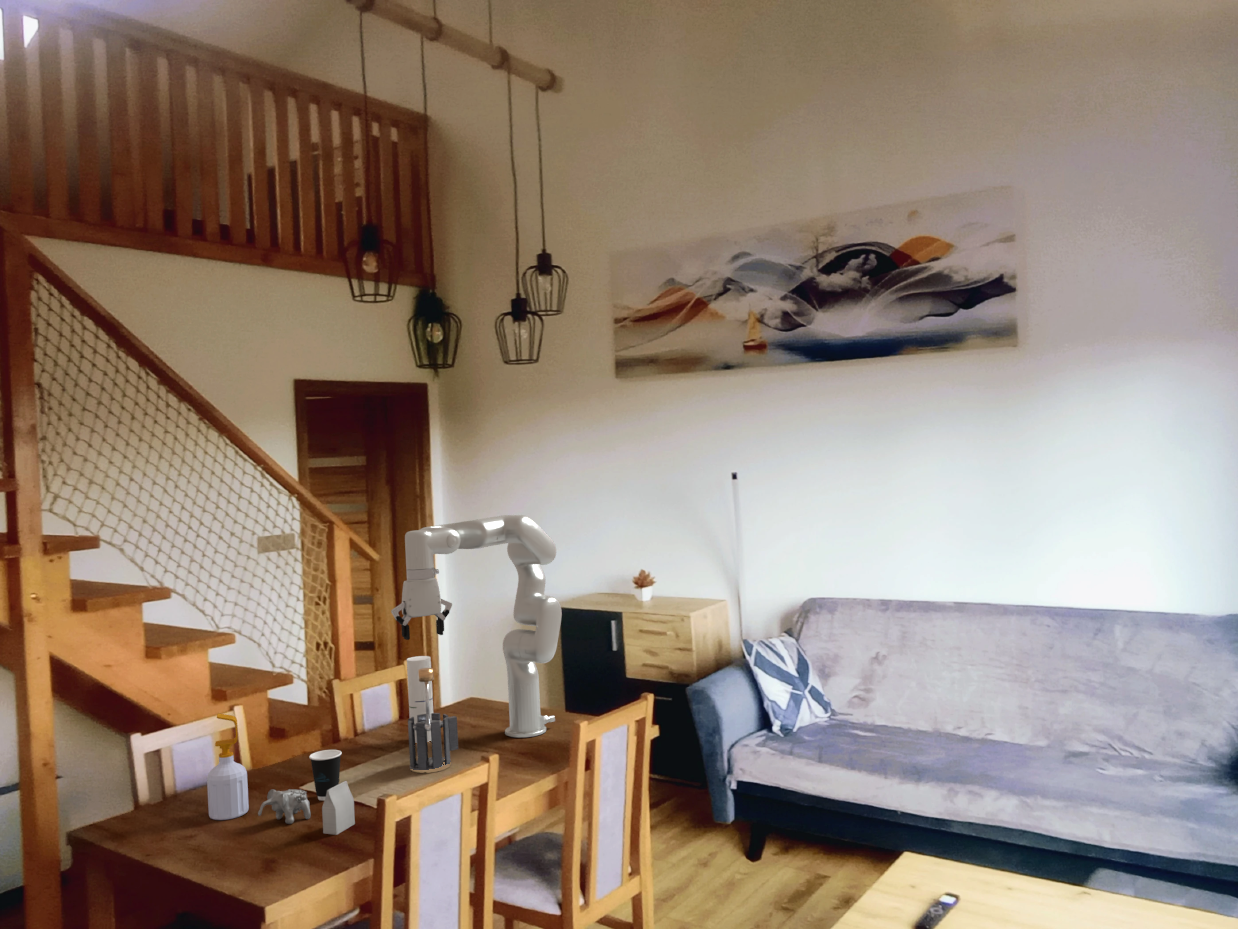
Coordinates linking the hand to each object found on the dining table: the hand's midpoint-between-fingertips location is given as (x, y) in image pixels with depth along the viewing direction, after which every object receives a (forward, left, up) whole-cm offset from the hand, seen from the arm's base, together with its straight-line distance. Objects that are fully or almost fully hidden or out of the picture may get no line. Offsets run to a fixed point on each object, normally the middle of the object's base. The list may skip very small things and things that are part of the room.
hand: (423, 636), depth 268 cm
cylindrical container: (-8, -27, -36) cm, 46 cm away
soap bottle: (+53, +2, -36) cm, 64 cm away
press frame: (-1, 0, -36) cm, 36 cm away
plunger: (0, 0, -25) cm, 25 cm away
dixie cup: (+30, +6, -36) cm, 47 cm away
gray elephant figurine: (+43, +17, -36) cm, 59 cm away
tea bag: (+34, +30, -36) cm, 58 cm away
